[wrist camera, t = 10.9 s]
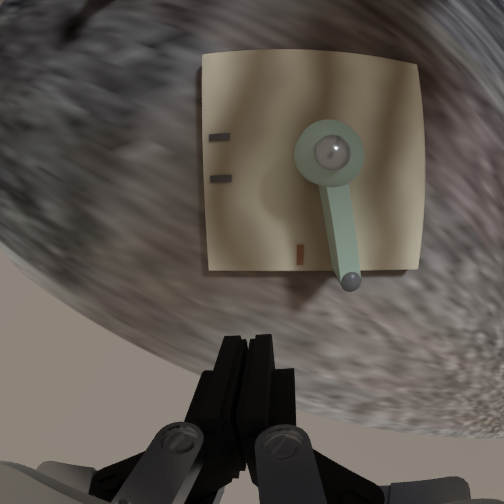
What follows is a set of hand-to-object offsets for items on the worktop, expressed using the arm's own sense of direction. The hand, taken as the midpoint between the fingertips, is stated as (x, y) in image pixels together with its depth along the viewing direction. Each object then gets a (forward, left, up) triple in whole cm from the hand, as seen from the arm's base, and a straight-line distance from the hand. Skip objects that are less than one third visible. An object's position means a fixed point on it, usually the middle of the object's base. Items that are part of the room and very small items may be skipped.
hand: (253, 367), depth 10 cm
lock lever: (-5, -4, -16) cm, 17 cm away
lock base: (-5, -8, -18) cm, 20 cm away
